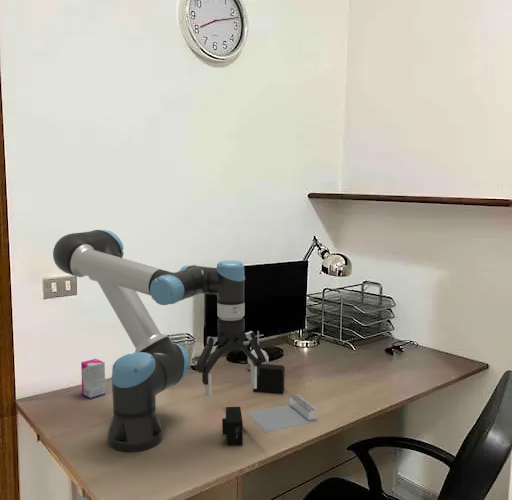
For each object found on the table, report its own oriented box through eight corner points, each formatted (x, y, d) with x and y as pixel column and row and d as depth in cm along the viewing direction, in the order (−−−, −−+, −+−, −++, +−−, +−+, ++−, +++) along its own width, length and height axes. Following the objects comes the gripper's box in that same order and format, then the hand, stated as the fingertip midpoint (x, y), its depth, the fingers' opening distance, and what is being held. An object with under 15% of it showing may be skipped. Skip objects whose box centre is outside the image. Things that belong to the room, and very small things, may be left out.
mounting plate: (265, 437, 157) (265, 432, 157) (246, 417, 170) (246, 412, 170) (320, 425, 164) (320, 420, 164) (297, 407, 177) (297, 403, 177)
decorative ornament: (251, 364, 216) (251, 327, 214) (270, 366, 214) (270, 329, 212) (245, 371, 209) (245, 333, 207) (265, 373, 207) (265, 334, 205)
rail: (308, 421, 164) (308, 410, 163) (289, 406, 175) (289, 395, 174) (317, 419, 165) (317, 408, 164) (297, 404, 176) (298, 393, 175)
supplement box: (106, 394, 187) (105, 361, 185) (90, 399, 183) (89, 366, 181) (97, 389, 191) (95, 357, 189) (81, 394, 186) (80, 362, 185)
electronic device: (282, 398, 184) (282, 369, 183) (253, 396, 186) (253, 367, 185) (284, 393, 188) (284, 365, 187) (255, 391, 190) (255, 363, 189)
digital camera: (221, 429, 162) (221, 406, 161) (240, 428, 163) (240, 405, 162) (222, 446, 152) (222, 422, 151) (242, 445, 152) (242, 421, 151)
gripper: (192, 325, 144) (193, 403, 147) (277, 315, 154) (277, 388, 157) (183, 319, 150) (184, 393, 153) (266, 309, 161) (265, 379, 164)
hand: (231, 391), depth 155 cm, fingers open, 13 cm apart
